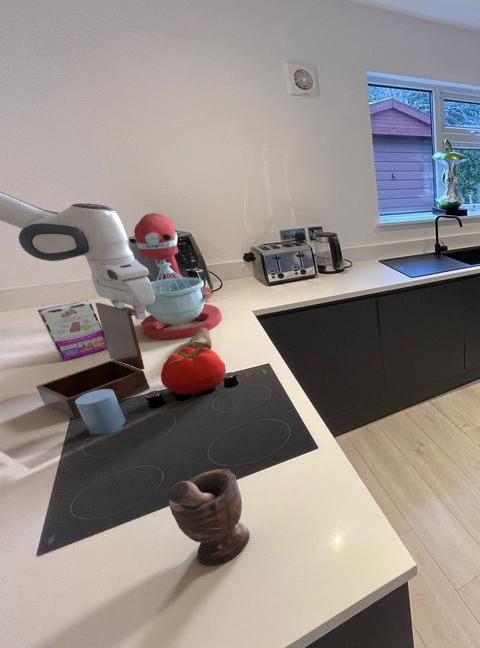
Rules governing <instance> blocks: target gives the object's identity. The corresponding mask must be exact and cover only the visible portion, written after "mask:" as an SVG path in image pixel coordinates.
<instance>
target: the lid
mask: <svg viewBox="0 0 480 648" xmlns="http://www.w3.org/2000/svg"><path fill="white" fill-rule="evenodd" d="M94 304H95V307H96V311H97V314H98V315H97V316H98V320H99V323H100V325H101V328H102V330H103V333H104V337H105V340H106V344H107V348H108V349H107V352H108V354H109V358H110V360H115V361H118V362H120V363H123V364H126V365H129V366H131V367H134V368H137V369H140V370H142V371H143V370H145V364H144V360H143V357H142V353H141V349H140V345H139V340H138V337H137V333H136V329H135V325H134V320H133V316H134V313H135V308H133V307H130V306H125V308H123V309H120V308H117V307H115V306H114V305H109V304H106V303H102V302H95V303H94Z"/></svg>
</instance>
